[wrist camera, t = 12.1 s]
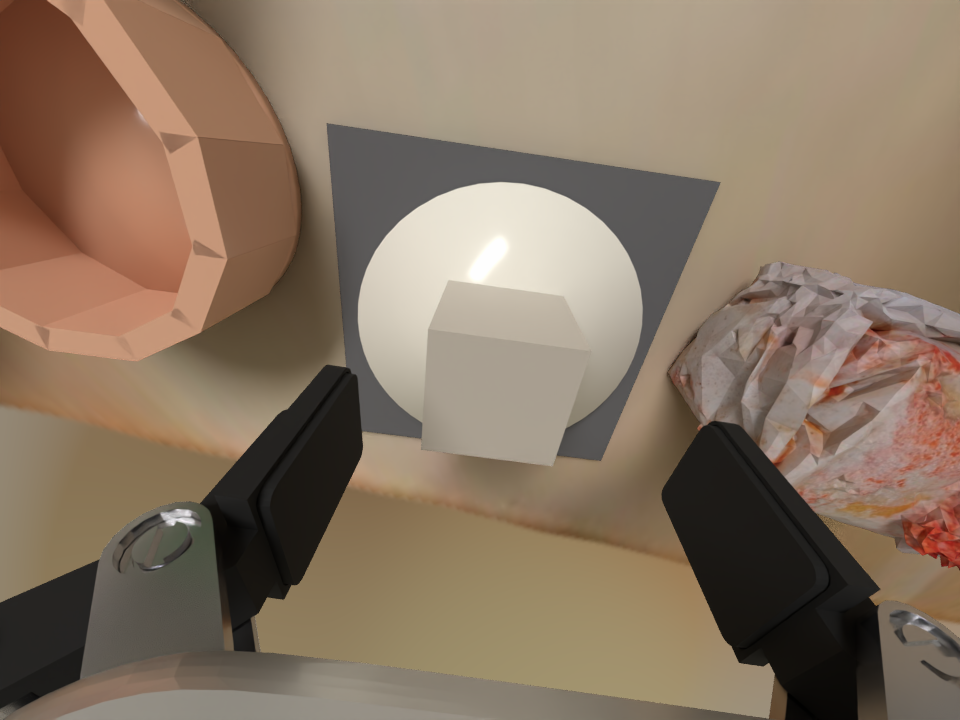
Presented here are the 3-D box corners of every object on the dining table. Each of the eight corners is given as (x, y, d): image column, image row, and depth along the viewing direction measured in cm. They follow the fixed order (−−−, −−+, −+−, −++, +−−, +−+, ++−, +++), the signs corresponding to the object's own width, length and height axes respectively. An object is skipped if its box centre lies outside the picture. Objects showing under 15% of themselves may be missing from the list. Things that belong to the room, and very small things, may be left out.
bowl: (275, -11, 11) (134, -123, 7) (316, 323, 17) (255, 376, 13) (-107, -73, 11) (-510, -232, 6) (72, 290, 17) (-76, 334, 12)
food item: (633, 379, 18) (755, 571, 10) (739, 233, 14) (1098, 333, 6) (834, 452, 20) (1085, 665, 12) (976, 339, 16) (1508, 533, 8)
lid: (684, 207, 13) (796, 232, 8) (589, 446, 20) (620, 541, 15) (356, 158, 13) (269, 154, 8) (368, 418, 20) (324, 505, 15)
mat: (714, 181, 13) (720, 182, 13) (599, 455, 21) (600, 460, 20) (331, 124, 13) (326, 123, 13) (354, 425, 20) (351, 429, 20)
